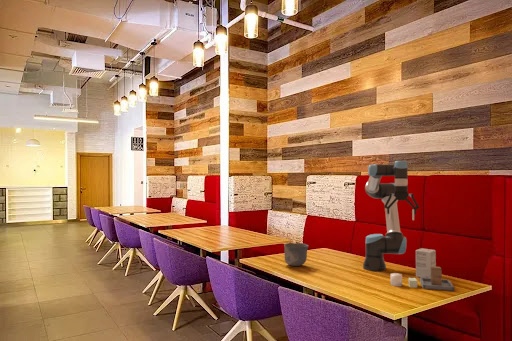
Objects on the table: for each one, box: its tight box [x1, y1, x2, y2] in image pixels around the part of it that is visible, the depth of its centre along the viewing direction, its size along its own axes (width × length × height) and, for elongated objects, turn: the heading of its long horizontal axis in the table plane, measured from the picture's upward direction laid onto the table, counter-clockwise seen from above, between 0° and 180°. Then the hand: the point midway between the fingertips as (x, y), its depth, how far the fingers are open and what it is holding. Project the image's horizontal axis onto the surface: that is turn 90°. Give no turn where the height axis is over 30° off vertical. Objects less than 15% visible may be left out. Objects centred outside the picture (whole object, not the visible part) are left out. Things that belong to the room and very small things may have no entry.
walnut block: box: [431, 266, 443, 286], centre depth 216 cm, size 5×5×10 cm
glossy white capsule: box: [390, 272, 403, 287], centre depth 219 cm, size 6×6×6 cm
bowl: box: [283, 242, 309, 267], centre depth 265 cm, size 18×18×15 cm
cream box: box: [408, 277, 418, 288], centre depth 216 cm, size 6×4×4 cm, turn 163°
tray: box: [419, 277, 456, 292], centre depth 216 cm, size 16×16×2 cm
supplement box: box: [415, 247, 437, 278], centre depth 236 cm, size 10×9×17 cm
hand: (401, 219), depth 231 cm, fingers open, 13 cm apart
